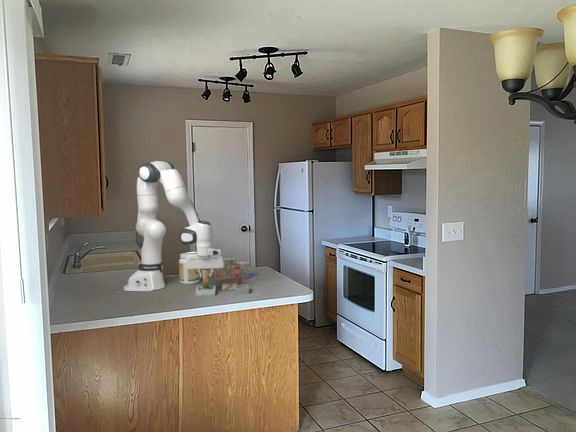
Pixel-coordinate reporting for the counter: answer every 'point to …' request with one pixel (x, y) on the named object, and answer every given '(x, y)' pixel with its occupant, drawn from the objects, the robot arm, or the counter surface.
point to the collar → (241, 289)
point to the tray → (206, 291)
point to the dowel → (205, 278)
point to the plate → (228, 286)
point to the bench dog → (239, 280)
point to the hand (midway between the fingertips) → (205, 276)
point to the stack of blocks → (232, 270)
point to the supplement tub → (187, 272)
